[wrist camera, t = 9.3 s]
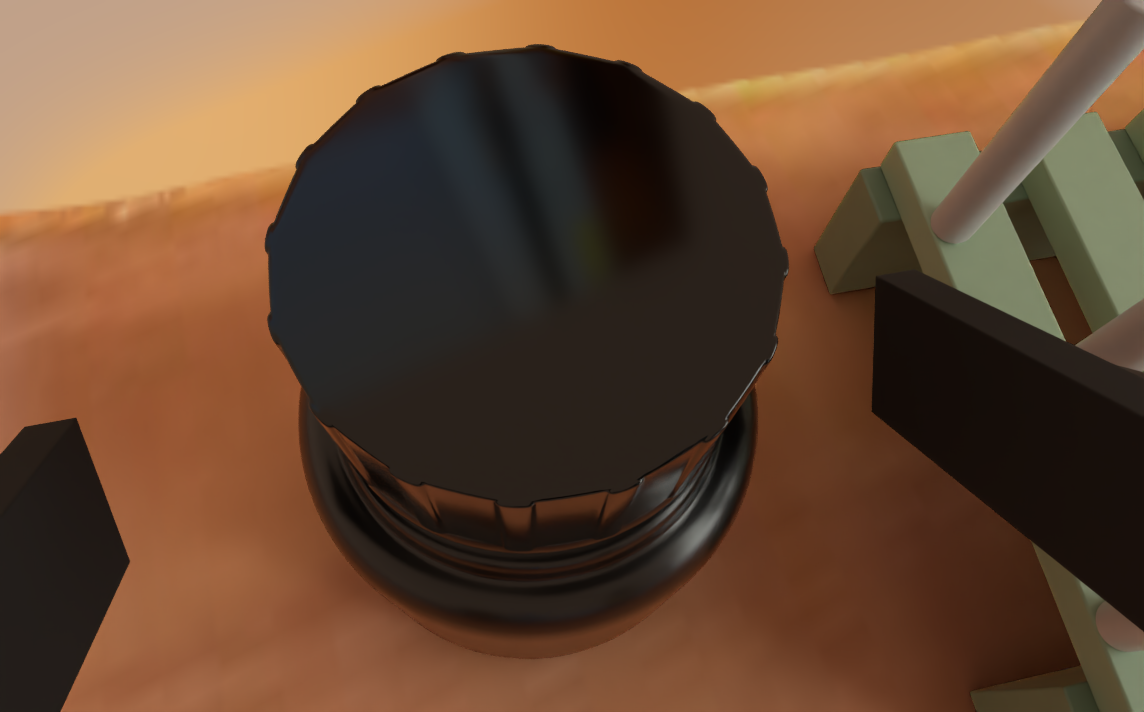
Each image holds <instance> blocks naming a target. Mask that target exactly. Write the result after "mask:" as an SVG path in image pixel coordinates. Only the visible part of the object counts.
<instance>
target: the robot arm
mask: <svg viewBox="0 0 1144 712" xmlns="http://www.w3.org/2000/svg"><path fill="white" fill-rule="evenodd" d="M872 412H873V413H874V414H875V415H876V416H878V417H879V418H880V419H881V420H883V421H884V422H885V423H886V424H887V425H889V426H890V427H891V428H892V429H894V430H895V431H896V432H897V433H899V434H900V435H901V436H902V437H904V438H905V439H906V440H907V441H908V442H910V443H911V444H912V445H913V446H915V447H916V448H917V449H918V450H920V451H921V452H922V453H923V454H925V455H926V456H927V457H928V458H929V459H931V460H932V461H933V462H934V463H936V464H937V465H938V466H939V467H941V468H942V469H943V470H944V471H946V472H947V473H948V474H949V475H950V476H952V477H953V478H954V479H955V480H957V481H958V482H959V483H960V484H962V485H963V486H964V487H965V488H967V489H968V490H969V491H970V492H971V493H973V494H974V495H975V496H976V497H978V498H979V499H980V500H981V501H983V502H984V503H985V504H986V505H988V506H989V507H990V508H991V509H992V510H994V511H995V512H996V513H997V514H999V515H1000V516H1001V517H1002V518H1004V519H1005V520H1006V521H1007V522H1008V523H1010V524H1011V525H1012V526H1013V527H1015V528H1016V529H1017V530H1018V531H1020V532H1021V533H1022V534H1023V535H1025V536H1026V537H1027V538H1028V539H1029V540H1031V541H1032V542H1033V543H1034V544H1036V545H1037V546H1038V547H1039V548H1041V549H1042V550H1043V551H1044V552H1046V553H1047V554H1048V555H1049V556H1050V557H1052V558H1053V559H1054V560H1055V561H1057V562H1058V563H1059V564H1060V565H1062V566H1063V567H1064V568H1065V569H1067V570H1068V571H1069V572H1070V573H1071V574H1073V575H1074V576H1075V577H1076V578H1078V579H1079V580H1080V581H1081V582H1083V583H1084V584H1085V585H1086V586H1088V587H1089V588H1090V589H1091V590H1092V591H1094V592H1095V593H1096V594H1097V595H1099V596H1100V597H1101V598H1102V599H1104V600H1105V601H1106V602H1107V603H1109V604H1110V605H1111V606H1112V607H1113V608H1115V609H1116V610H1117V611H1118V612H1120V613H1121V614H1122V615H1123V616H1125V617H1126V618H1127V619H1128V620H1129V621H1131V622H1132V623H1133V624H1134V625H1136V626H1137V627H1138V628H1139V629H1141V630H1142V631H1143V632H1144V373H1143V372H1141V371H1137V370H1133V369H1129V368H1126V367H1122V366H1118V365H1115V364H1113V363H1110V362H1108V361H1106V360H1104V359H1102V358H1100V357H1098V356H1096V355H1094V354H1092V353H1089V352H1087V351H1085V350H1083V349H1081V348H1079V347H1077V346H1075V345H1073V344H1071V343H1068V342H1066V341H1064V340H1062V339H1060V338H1058V337H1056V336H1054V335H1052V334H1050V333H1047V332H1045V331H1043V330H1041V329H1039V328H1037V327H1035V326H1033V325H1031V324H1029V323H1026V322H1024V321H1022V320H1020V319H1018V318H1016V317H1014V316H1012V315H1010V314H1008V313H1006V312H1003V311H1001V310H999V309H997V308H995V307H993V306H991V305H989V304H987V303H985V302H982V301H980V300H978V299H976V298H974V297H972V296H970V295H968V294H966V293H964V292H961V291H959V290H957V289H955V288H953V287H951V286H949V285H947V284H945V283H943V282H940V281H938V280H936V279H934V278H932V277H930V276H928V275H926V274H924V273H922V272H919V271H917V270H915V269H912V270H907V271H901V272H895V273H890V274H884V275H879V276H876V283H875V317H874V351H873V385H872ZM129 563H130V560H129V557H128V555H127V552H126V549H125V547H124V544H123V541H122V539H121V536H120V533H119V531H118V528H117V525H116V523H115V520H114V517H113V515H112V512H111V509H110V507H109V504H108V501H107V499H106V496H105V493H104V491H103V488H102V485H101V483H100V480H99V477H98V475H97V472H96V469H95V467H94V464H93V461H92V459H91V456H90V453H89V451H88V448H87V445H86V443H85V440H84V437H83V435H82V432H81V429H80V427H79V424H78V421H77V419H76V418H72V419H66V420H61V421H55V422H49V423H44V424H38V425H33V426H27V427H24V428H23V429H22V430H21V432H20V433H19V434H18V435H17V436H16V437H15V438H14V440H13V441H12V442H11V443H10V444H9V445H8V446H7V448H6V449H5V450H4V451H3V452H2V453H1V454H0V712H60V711H61V709H62V707H63V705H64V703H65V701H66V698H67V696H68V694H69V692H70V690H71V688H72V686H73V683H74V681H75V679H76V677H77V675H78V673H79V670H80V668H81V666H82V664H83V662H84V660H85V658H86V655H87V653H88V651H89V649H90V647H91V645H92V642H93V640H94V638H95V636H96V634H97V632H98V630H99V627H100V625H101V623H102V621H103V619H104V617H105V614H106V612H107V610H108V608H109V606H110V604H111V601H112V599H113V597H114V595H115V593H116V591H117V589H118V586H119V584H120V582H121V580H122V578H123V576H124V573H125V571H126V569H127V567H128V565H129Z"/></svg>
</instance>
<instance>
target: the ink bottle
mask: <svg viewBox="0 0 1144 712" xmlns="http://www.w3.org/2000/svg"><path fill="white" fill-rule="evenodd" d="M296 169H297V170H296V172H295V174H294V176H293V178H292V181H291V183H290V185H289V187H288V190H287V192H286V194H285V197H284V199H283V201H282V204H281V206H280V209H279V211H278V214H277V216H276V219H275V221H274V222H273V223H272V224H270V226H269V227H268V230H267V233H266V238H265V251H266V253H267V254H268V270H269V296H270V310H271V311H270V314H269V315H268V318H267V321H268V327H269V331H270V334H271V337H272V339H273V341H274V342H275V344H276V345H277V347H278V348H279V350H280V351H281V352H282V354H283V355H284V357H285V358H286V360H287V361H288V363H289V364H290V366H291V368H292V370H293V372H294V374H295V376H296V377H297V379H298V381H299V383H300V385H301V392H300V400H299V419H298V420H299V442H300V450H301V457H302V463H303V468H304V472H305V477H306V480H307V484H308V487H309V490H310V493H311V496H312V499H313V502H314V504H315V507H316V509H317V512H318V514H319V516H320V518H321V520H322V522H323V524H324V526H325V528H326V530H327V532H328V533H329V535H330V537H331V538H332V540H333V542H334V543H335V545H336V546H337V548H338V549H339V551H340V552H341V553H342V555H343V556H344V557H345V559H346V560H347V561H348V562H349V563H350V565H351V566H352V567H353V568H354V569H355V570H356V572H357V573H358V574H359V575H360V576H361V577H362V578H363V579H364V580H365V581H366V582H367V583H369V584H370V585H371V586H372V587H373V588H374V589H375V590H377V591H378V592H379V593H380V594H381V595H383V596H384V597H385V598H386V599H388V600H389V601H390V602H392V603H393V604H394V605H395V606H397V607H398V608H399V609H401V610H402V611H403V612H404V613H406V614H407V615H408V616H410V617H411V618H412V619H413V620H415V621H416V622H417V623H419V624H420V625H421V626H423V627H424V628H426V629H427V630H429V631H430V632H432V633H434V634H436V635H437V636H439V637H441V638H443V639H445V640H447V641H449V642H451V643H454V644H456V645H458V646H461V647H464V648H466V649H469V650H473V651H476V652H480V653H484V654H488V655H493V656H499V657H506V658H519V659H538V658H550V657H557V656H563V655H568V654H573V653H577V652H580V651H584V650H587V649H590V648H593V647H595V646H598V645H600V644H603V643H605V642H607V641H610V640H612V639H614V638H616V637H618V636H619V635H621V634H623V633H625V632H626V631H628V630H630V629H631V628H633V627H634V626H636V625H637V624H639V623H640V622H641V621H643V620H644V619H645V618H646V617H648V616H649V615H650V614H651V613H652V612H654V611H655V610H656V609H657V608H658V607H659V606H661V605H662V604H663V603H664V602H665V601H666V600H668V599H669V598H670V597H671V596H672V595H673V594H674V593H676V592H677V591H678V590H679V589H680V588H681V587H683V586H684V585H685V584H686V583H687V582H688V581H689V580H690V579H691V578H692V577H693V576H695V574H696V573H697V572H698V571H699V570H700V569H701V568H702V567H703V566H704V565H705V564H706V562H707V561H708V560H709V559H710V558H711V557H712V555H713V554H714V553H715V551H716V550H717V549H718V547H719V546H720V544H721V543H722V541H723V540H724V538H725V537H726V535H727V533H728V531H729V530H730V528H731V526H732V524H733V522H734V520H735V518H736V516H737V514H738V512H739V510H740V507H741V505H742V502H743V500H744V497H745V494H746V491H747V488H748V485H749V482H750V478H751V474H752V470H753V465H754V460H755V454H756V446H757V435H758V405H757V394H756V387H755V384H756V382H757V381H758V379H759V378H760V376H761V375H762V373H763V372H764V370H765V369H766V367H767V366H768V364H769V363H770V361H771V360H772V358H773V356H774V353H775V351H776V348H777V344H778V338H777V336H776V329H777V324H778V319H779V313H780V306H781V300H782V292H783V284H784V280H785V278H786V276H787V275H788V271H789V260H788V253H787V250H786V249H785V248H784V247H783V246H782V244H781V240H780V236H779V232H778V229H777V225H776V222H775V218H774V215H773V212H772V209H771V205H770V202H769V199H768V196H767V193H766V192H767V190H768V187H767V183H766V181H765V179H764V177H763V175H762V173H761V172H760V170H759V169H758V168H757V167H756V166H753V165H751V163H750V162H749V161H748V160H747V158H746V157H745V156H744V155H743V153H742V152H741V151H740V150H739V148H738V147H737V146H736V145H735V143H734V142H733V141H732V140H731V139H730V137H729V136H728V135H727V134H726V133H725V131H724V130H723V129H722V128H721V127H720V126H719V124H718V123H717V122H716V117H715V116H714V114H713V113H712V112H711V111H710V110H709V109H708V108H706V107H705V106H704V105H702V104H701V103H699V102H693V101H691V100H689V99H688V98H686V97H684V96H683V95H681V94H679V93H678V92H676V91H674V90H673V89H671V88H669V87H667V86H666V85H664V84H662V83H660V82H659V81H657V80H655V79H654V78H652V77H650V76H648V75H646V74H645V73H643V72H642V70H641V69H640V68H639V67H637V66H635V65H633V64H631V63H628V62H625V61H620V60H617V61H610V60H606V59H601V58H597V57H592V56H588V55H583V54H578V53H573V52H568V51H563V50H558V49H555V48H554V47H553V46H549V45H542V44H534V45H528V46H526V47H525V48H514V49H503V50H493V51H484V52H475V53H467V54H466V53H463V52H456V53H451V54H447V55H444V56H441V57H440V58H438V59H437V60H436V62H434V63H431V64H429V65H427V66H424V67H422V68H420V69H417V70H415V71H413V72H411V73H408V74H406V75H404V76H402V77H400V78H397V79H395V80H393V81H391V82H389V83H387V84H384V85H382V86H379V85H378V86H374V87H372V88H370V89H369V90H367V91H366V92H364V93H363V94H361V95H360V96H359V97H358V99H357V100H356V104H355V105H353V107H351V108H350V109H349V110H348V111H347V112H346V113H345V114H344V115H343V116H342V117H341V118H340V119H339V120H338V121H337V122H336V123H335V124H333V125H332V126H331V127H330V128H329V129H328V130H327V131H326V132H325V133H324V135H322V136H321V137H320V138H319V140H317V141H316V142H315V143H314V144H311V145H309V146H307V147H306V149H305V150H304V151H303V152H302V154H301V155H300V157H299V158H298V160H297V162H296Z"/></svg>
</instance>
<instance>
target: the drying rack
mask: <svg viewBox="0 0 1144 712" xmlns="http://www.w3.org/2000/svg"><path fill="white" fill-rule="evenodd" d="M1143 49H1144V0H1102V1H1101V3H1100V4H1099V5H1098V6H1097V8H1096V9H1095V10H1094V12H1093V13H1092V14H1091V15H1090V17H1089V18H1088V19H1087V20H1086V21H1085V23H1084V24H1083V25H1082V26H1081V28H1080V29H1079V30H1078V32H1077V33H1076V34H1075V35H1074V37H1073V38H1072V39H1071V40H1070V42H1069V43H1068V44H1067V45H1066V47H1065V48H1064V49H1063V50H1062V52H1061V53H1060V54H1059V55H1058V57H1057V58H1056V59H1055V60H1054V62H1053V63H1052V64H1051V65H1050V67H1049V68H1048V69H1047V70H1046V72H1045V73H1044V74H1043V75H1042V77H1041V78H1040V79H1039V80H1038V82H1037V83H1036V84H1035V85H1034V87H1033V88H1032V89H1031V90H1030V92H1029V93H1028V94H1027V95H1026V97H1025V98H1024V99H1023V101H1022V102H1021V103H1020V104H1019V106H1018V107H1017V108H1016V109H1015V111H1014V112H1013V113H1012V114H1011V116H1010V117H1009V118H1008V119H1007V121H1006V122H1005V123H1004V124H1003V126H1002V127H1001V128H1000V129H999V131H998V132H997V133H996V134H995V136H994V137H993V138H992V139H991V141H990V142H989V143H988V144H987V146H986V147H985V148H984V149H983V151H979V150H978V148H977V145H976V143H975V141H974V139H973V137H972V135H971V133H970V132H969V131H965V132H959V133H952V134H945V135H939V136H932V137H925V138H919V139H912V140H905V141H899V142H895V143H894V144H893V146H892V147H891V149H890V150H889V152H888V154H887V155H886V157H885V158H884V160H883V162H882V163H881V166H880V167H874V168H867V169H862V170H861V171H860V172H859V173H858V175H857V177H856V178H855V180H854V182H853V183H852V185H851V187H850V188H849V190H848V192H847V193H846V195H845V197H844V198H843V200H842V202H841V203H840V205H839V207H838V208H837V210H836V212H835V213H834V215H833V217H832V218H831V220H830V222H829V223H828V225H827V227H826V228H825V230H824V232H823V233H822V235H821V237H820V238H819V240H818V242H817V243H816V245H815V246H814V251H815V253H816V256H817V259H818V262H819V265H820V268H821V271H822V273H823V276H824V279H825V282H826V285H827V288H828V290H829V293H830V294H836V293H842V292H848V291H853V290H859V289H865V288H871V287H875V283H876V276H879V275H884V274H890V273H895V272H901V271H907V270H912V269H915V270H917V271H919V272H922V273H924V274H926V275H928V276H930V277H932V278H934V279H936V280H938V281H940V282H943V283H945V284H947V285H949V286H951V287H953V288H955V289H957V290H959V291H961V292H964V293H966V294H968V295H970V296H972V297H974V298H976V299H978V300H980V301H982V302H985V303H987V304H989V305H991V306H993V307H995V308H997V309H999V310H1001V311H1003V312H1006V313H1008V314H1010V315H1012V316H1014V317H1016V318H1018V319H1020V320H1022V321H1024V322H1026V323H1029V324H1031V325H1033V326H1035V327H1037V328H1039V329H1041V330H1043V331H1045V332H1047V333H1050V334H1052V335H1054V336H1056V337H1058V338H1060V339H1062V340H1064V341H1066V340H1065V338H1064V336H1063V334H1062V332H1061V329H1060V327H1059V325H1058V323H1057V321H1056V318H1055V316H1054V314H1053V312H1052V310H1051V308H1050V305H1049V303H1048V301H1047V299H1046V297H1045V294H1044V292H1043V290H1042V288H1041V286H1040V283H1039V281H1038V279H1037V277H1036V275H1035V272H1034V270H1033V268H1032V266H1031V264H1030V262H1029V261H1030V260H1036V259H1042V258H1048V257H1053V256H1056V257H1057V259H1058V261H1059V263H1060V265H1061V267H1062V270H1063V272H1064V274H1065V276H1066V278H1067V280H1068V282H1069V284H1070V287H1071V289H1072V291H1073V293H1074V295H1075V297H1076V299H1077V301H1078V304H1079V306H1080V308H1081V310H1082V312H1083V314H1084V316H1085V318H1086V321H1087V323H1088V325H1089V327H1090V329H1091V331H1092V334H1091V335H1089V336H1088V337H1086V338H1085V339H1083V340H1082V341H1080V342H1079V343H1077V344H1076V345H1075V346H1077V347H1079V348H1081V349H1083V350H1085V351H1087V352H1089V353H1092V354H1094V355H1096V356H1098V357H1100V358H1102V359H1104V360H1106V361H1108V362H1110V363H1113V364H1115V365H1118V366H1122V367H1126V368H1129V369H1133V370H1137V371H1141V372H1143V373H1144V109H1143V110H1142V111H1141V112H1140V113H1139V114H1138V115H1137V116H1136V117H1135V118H1134V119H1133V120H1132V121H1131V122H1130V123H1129V124H1128V125H1127V126H1126V127H1125V129H1122V130H1115V131H1109V132H1107V130H1106V128H1105V126H1104V124H1103V122H1102V120H1101V118H1100V117H1099V115H1098V113H1097V112H1090V113H1085V112H1086V111H1087V110H1088V109H1089V108H1090V107H1091V106H1092V105H1093V103H1094V102H1095V101H1096V100H1097V99H1098V98H1099V97H1100V96H1101V95H1102V94H1103V93H1104V91H1105V90H1106V89H1107V88H1108V87H1109V86H1110V85H1111V84H1112V83H1113V82H1114V81H1115V79H1116V78H1117V77H1118V76H1119V75H1120V74H1121V73H1122V72H1123V71H1124V70H1125V69H1126V68H1127V66H1128V65H1129V64H1130V63H1131V62H1132V61H1133V60H1134V59H1135V58H1136V57H1137V56H1138V54H1139V53H1140V52H1141V51H1142V50H1143ZM1031 542H1032V541H1031ZM1032 545H1033V547H1034V550H1035V552H1036V555H1037V557H1038V560H1039V562H1040V565H1041V567H1042V570H1043V572H1044V575H1045V577H1046V580H1047V582H1048V585H1049V587H1050V590H1051V592H1052V595H1053V597H1054V599H1055V602H1056V604H1057V607H1058V609H1059V612H1060V614H1061V617H1062V619H1063V622H1064V624H1065V627H1066V629H1067V632H1068V634H1069V637H1070V639H1071V642H1072V644H1073V647H1074V649H1075V652H1076V654H1077V657H1078V659H1079V662H1080V664H1081V666H1077V667H1073V668H1068V669H1064V670H1060V671H1055V672H1051V673H1047V674H1042V675H1038V676H1034V677H1029V678H1025V679H1021V680H1016V681H1012V682H1008V683H1003V684H999V685H995V686H990V687H986V688H982V689H977V690H973V691H971V692H970V695H971V698H972V701H973V704H974V706H975V709H976V712H1144V632H1143V631H1142V630H1141V629H1139V628H1138V627H1137V626H1136V625H1134V624H1133V623H1132V622H1131V621H1129V620H1128V619H1127V618H1126V617H1125V616H1123V615H1122V614H1121V613H1120V612H1118V611H1117V610H1116V609H1115V608H1113V607H1112V606H1111V605H1110V604H1109V603H1107V602H1106V601H1105V600H1104V599H1102V598H1101V597H1100V596H1099V595H1097V594H1096V593H1095V592H1094V591H1092V590H1091V589H1090V588H1089V587H1088V586H1086V585H1085V584H1084V583H1083V582H1081V581H1080V580H1079V579H1078V578H1076V577H1075V576H1074V575H1073V574H1071V573H1070V572H1069V571H1068V570H1067V569H1065V568H1064V567H1063V566H1062V565H1060V564H1059V563H1058V562H1057V561H1055V560H1054V559H1053V558H1052V557H1050V556H1049V555H1048V554H1047V553H1046V552H1044V551H1043V550H1042V549H1041V548H1039V547H1038V546H1037V545H1036V544H1034V543H1033V542H1032Z"/></svg>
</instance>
